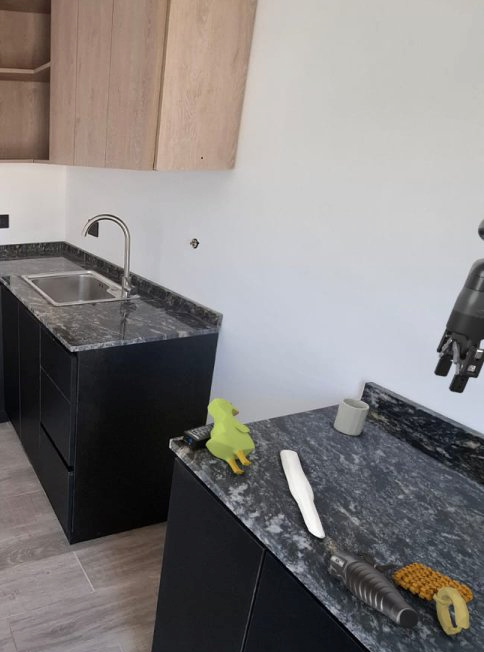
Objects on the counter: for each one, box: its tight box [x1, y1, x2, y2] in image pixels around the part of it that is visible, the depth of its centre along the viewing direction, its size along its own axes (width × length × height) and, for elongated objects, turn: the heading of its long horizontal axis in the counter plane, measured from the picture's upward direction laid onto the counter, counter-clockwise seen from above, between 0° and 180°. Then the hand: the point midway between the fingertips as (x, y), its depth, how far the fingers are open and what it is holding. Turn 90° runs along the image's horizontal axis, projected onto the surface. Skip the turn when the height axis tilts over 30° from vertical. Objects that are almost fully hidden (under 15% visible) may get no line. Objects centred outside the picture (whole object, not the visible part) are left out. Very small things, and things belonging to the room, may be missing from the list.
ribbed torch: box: [327, 549, 419, 629], centre depth 75 cm, size 9×13×3 cm
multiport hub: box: [182, 422, 214, 450], centre depth 115 cm, size 4×11×2 cm, turn 117°
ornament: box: [391, 562, 474, 635], centre depth 73 cm, size 7×10×15 cm
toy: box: [205, 397, 256, 475], centre depth 110 cm, size 6×17×20 cm
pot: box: [333, 397, 370, 436], centre depth 121 cm, size 6×6×8 cm
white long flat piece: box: [279, 449, 326, 539], centre depth 99 cm, size 28×4×2 cm, turn 163°
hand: (447, 383), depth 101 cm, fingers open, 8 cm apart
